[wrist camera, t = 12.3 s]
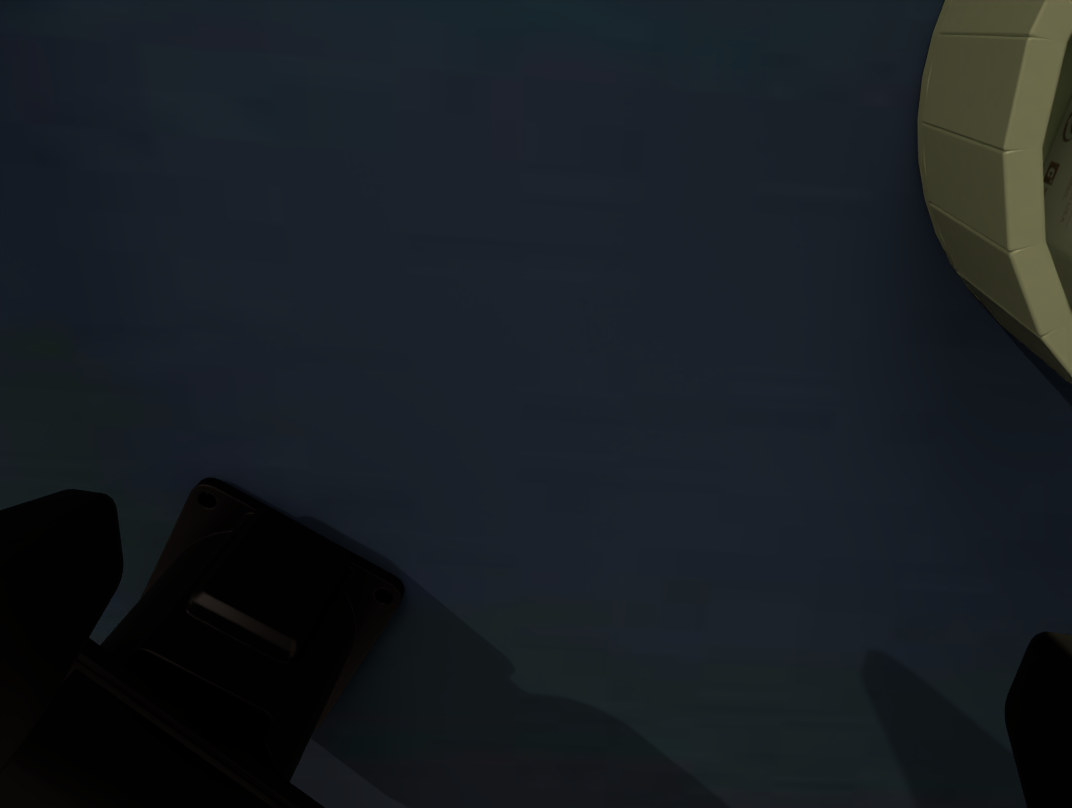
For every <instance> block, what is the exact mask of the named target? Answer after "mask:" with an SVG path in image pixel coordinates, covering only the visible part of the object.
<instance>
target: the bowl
mask: <svg viewBox="0 0 1072 808" xmlns="http://www.w3.org/2000/svg"><path fill="white" fill-rule="evenodd" d="M1071 95H1072V0H945V2H944V5H943V7H942V10H941V13H940V15H939V18H938V21H937V24H936V26H935V29H934V32H933V35H932V39H931V43H930V47H929V51H928V56H927V60H926V64H925V68H924V72H923V76H922V84H921V93H920V102H919V111H918V120H917V122H918V162H919V168H920V174H921V180H922V187H923V193H924V198H925V202H926V205H927V208H928V211H929V214H930V217H931V221H932V224H933V227H934V230H935V233H936V235H937V237H938V239H939V241H940V243H941V245H942V247H943V249H944V251H945V253H946V255H947V257H948V259H949V261H950V263H951V265H952V266H953V268H954V269H955V271H956V272H957V274H958V275H959V276H960V278H961V279H962V281H963V282H964V283H965V285H966V286H967V288H968V289H969V291H970V292H971V293H972V294H973V295H974V296H975V297H976V298H977V299H978V300H979V301H980V302H981V303H982V304H983V305H984V306H985V307H986V309H987V310H988V311H989V312H990V313H991V314H992V316H993V317H994V318H995V319H996V320H997V322H998V323H999V324H1000V325H1001V326H1003V327H1004V328H1005V329H1006V330H1007V331H1008V332H1010V333H1011V334H1012V335H1013V336H1014V337H1015V338H1017V339H1018V340H1019V341H1020V342H1021V343H1023V344H1024V345H1025V346H1026V347H1027V348H1028V349H1030V350H1031V351H1032V352H1033V353H1034V354H1036V355H1037V356H1038V357H1039V358H1040V359H1041V360H1043V361H1044V362H1045V363H1046V364H1047V365H1049V366H1050V367H1051V368H1052V369H1053V370H1054V371H1056V372H1057V373H1058V374H1059V375H1060V376H1062V377H1063V378H1064V379H1065V380H1066V381H1067V382H1069V383H1070V384H1071V385H1072V263H1071V262H1069V261H1067V260H1065V259H1063V258H1061V257H1059V256H1057V255H1056V254H1054V253H1052V252H1050V251H1049V248H1048V245H1047V243H1046V234H1045V207H1044V179H1043V163H1044V160H1045V158H1046V156H1047V153H1048V151H1049V148H1050V146H1051V143H1052V141H1053V138H1054V136H1055V133H1056V131H1057V129H1058V127H1059V124H1060V121H1061V118H1062V116H1063V114H1064V112H1065V109H1066V107H1067V105H1068V102H1069V100H1070V98H1071Z"/></svg>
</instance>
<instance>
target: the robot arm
mask: <svg viewBox="0 0 1072 808" xmlns="http://www.w3.org/2000/svg"><path fill="white" fill-rule="evenodd" d="M205 492H207V493H210V494H212V495H213V496H214V497H215V499H216V501H212V500H210V499H209V498H208V497H207V495H206V493H205ZM122 573H123V554H122V546H121V539H120V531H119V523H118V515H117V509H116V505H115V503H114V501H113V499H112V498H111V497H109V496H108V495H107V494H103V493H96V492H90V491H83V490H76V489H67V490H63V491H60V492H57V493H54V494H51V495H47V496H44V497H41V498H38V499H35V500H32V501H28V502H25V503H22V504H19V505H16V506H13V507H9V508H6V509H3V510H0V808H325V807H323V806H322V805H320V804H319V803H318V802H316V801H315V800H313V799H312V798H311V797H309V796H308V795H307V794H305V793H304V792H302V791H301V790H300V789H298V788H297V787H295V786H294V785H293V784H291V783H290V780H291V778H292V776H293V774H294V771H295V769H296V767H297V765H298V763H299V761H300V759H301V757H302V754H303V752H304V750H305V748H306V746H307V744H308V742H309V740H310V737H311V735H312V733H313V731H314V729H316V728H318V727H319V726H320V725H321V724H322V722H323V721H324V719H325V718H326V716H327V715H328V713H329V712H330V710H331V709H332V707H333V705H334V704H335V702H336V701H337V699H338V698H339V696H340V695H341V693H342V692H343V690H344V689H345V687H346V685H347V684H348V682H349V681H350V679H351V678H352V676H353V675H354V673H355V672H356V670H357V669H358V667H359V666H360V664H361V662H362V661H363V659H364V658H365V656H366V655H367V653H368V652H369V650H370V649H371V647H372V646H373V644H374V643H375V641H376V639H377V638H378V636H379V635H380V633H381V632H382V630H383V629H384V627H385V626H386V624H387V623H388V621H389V620H390V618H391V616H392V615H393V613H394V612H395V610H396V609H397V607H398V606H399V604H400V601H401V599H402V597H403V594H404V585H403V584H402V582H401V580H400V579H398V578H397V577H396V576H394V575H392V574H391V573H389V572H387V571H385V570H383V569H382V568H380V567H378V566H376V565H374V564H372V563H371V562H369V561H367V560H365V559H363V558H361V557H360V556H358V555H356V554H354V553H352V552H351V551H349V550H347V549H345V548H343V547H341V546H340V545H338V544H336V543H334V542H332V541H330V540H329V539H327V538H325V537H323V536H321V535H320V534H318V533H316V532H314V531H312V530H310V529H309V528H307V527H305V526H303V525H301V524H299V523H298V522H296V521H294V520H292V519H290V518H289V517H287V516H285V515H283V514H281V513H279V512H278V511H276V510H274V509H272V508H270V507H269V506H267V505H265V504H263V503H261V502H259V501H258V500H256V499H254V498H252V497H250V496H248V495H247V494H245V493H243V492H241V491H239V490H238V489H236V488H234V487H232V486H230V485H228V484H227V483H225V482H223V481H221V480H219V479H216V478H205V479H203V480H201V481H200V482H199V483H198V484H197V485H196V486H195V487H194V489H193V490H192V491H191V493H190V495H189V497H188V499H187V501H186V503H185V506H184V508H183V510H182V512H181V514H180V516H179V518H178V520H177V523H176V525H175V527H174V529H173V531H172V533H171V535H170V537H169V540H168V542H167V544H166V546H165V548H164V550H163V552H162V554H161V557H160V559H159V561H158V563H157V565H156V567H155V569H154V572H153V574H152V576H151V578H150V580H149V582H148V584H147V586H146V589H145V591H144V593H143V595H142V597H141V599H140V601H139V602H138V603H137V604H136V605H135V606H134V607H133V609H132V610H131V611H130V612H129V613H128V614H127V615H126V616H125V618H124V619H123V620H122V621H121V622H120V623H119V624H118V626H117V627H116V628H115V629H114V630H113V631H112V632H111V634H110V635H109V636H108V637H107V638H106V639H105V640H104V641H103V643H102V644H101V645H98V644H97V643H96V642H94V641H93V640H91V639H90V638H89V636H90V634H91V633H92V631H93V629H94V628H95V626H96V624H97V622H98V621H99V619H100V617H101V616H102V614H103V612H104V610H105V609H106V607H107V605H108V604H109V602H110V600H111V598H112V597H113V595H114V593H115V592H116V590H117V588H118V586H119V583H120V581H121V577H122ZM379 589H385V590H388V591H389V592H390V593H391V594H392V595H385V594H383V593H382V592H380V590H379ZM1005 723H1006V728H1007V732H1008V735H1009V739H1010V743H1011V747H1012V751H1013V755H1014V758H1015V762H1016V766H1017V770H1018V774H1019V778H1020V781H1021V785H1022V789H1023V793H1024V797H1025V801H1026V804H1027V808H1072V635H1067V634H1060V633H1053V632H1042V633H1039V634H1037V635H1035V636H1034V637H1033V639H1032V640H1031V641H1030V643H1029V645H1028V647H1027V649H1026V652H1025V654H1024V657H1023V659H1022V661H1021V664H1020V666H1019V669H1018V671H1017V674H1016V676H1015V678H1014V681H1013V683H1012V686H1011V688H1010V690H1009V693H1008V695H1007V699H1006V703H1005Z"/></svg>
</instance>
